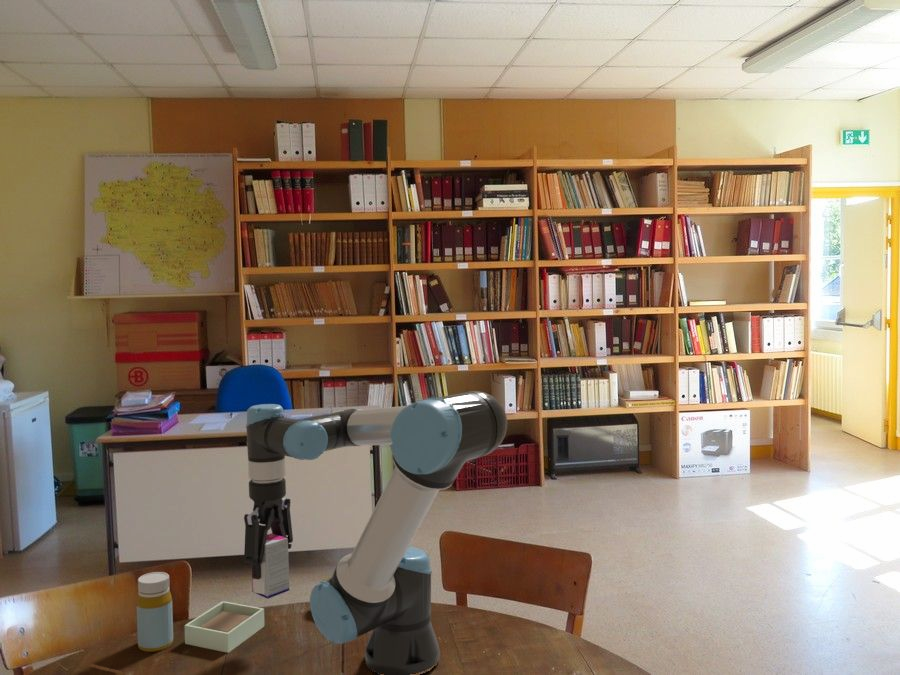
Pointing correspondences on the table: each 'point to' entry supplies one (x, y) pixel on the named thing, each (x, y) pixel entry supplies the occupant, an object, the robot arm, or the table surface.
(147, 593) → the bottle
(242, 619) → the walnut block
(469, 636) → the table surface
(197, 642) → the box
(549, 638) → the table surface
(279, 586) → the supplement box
